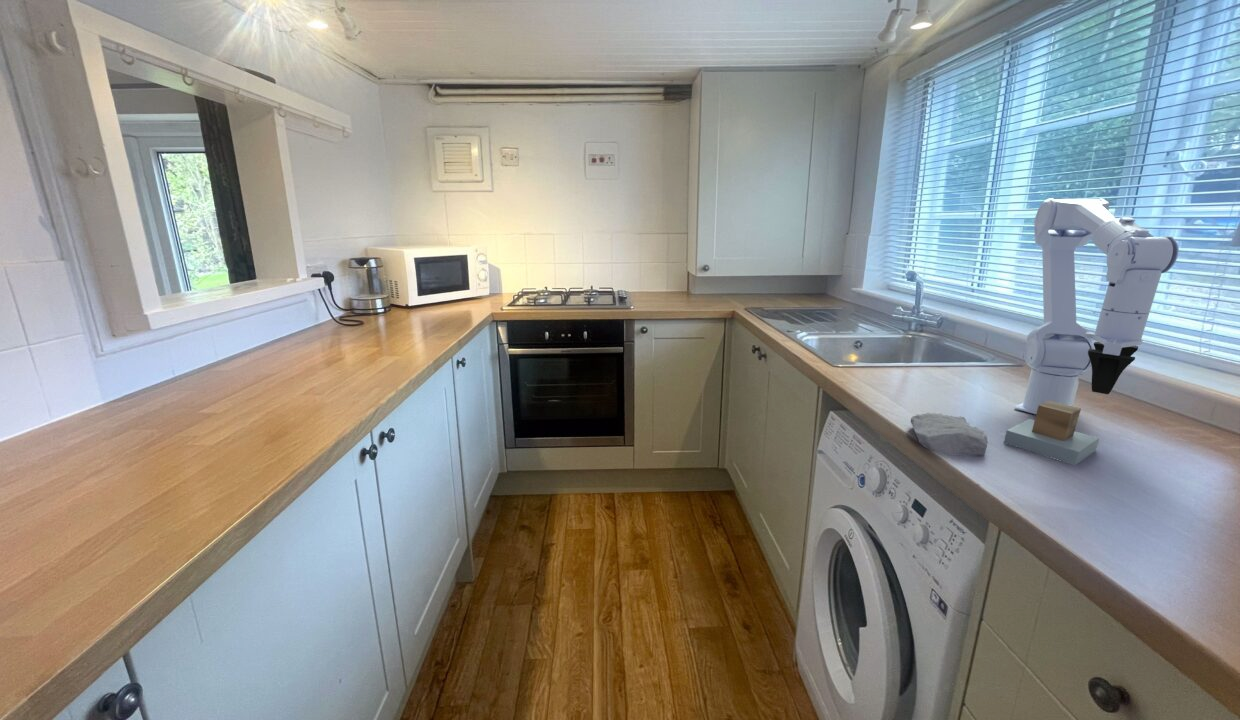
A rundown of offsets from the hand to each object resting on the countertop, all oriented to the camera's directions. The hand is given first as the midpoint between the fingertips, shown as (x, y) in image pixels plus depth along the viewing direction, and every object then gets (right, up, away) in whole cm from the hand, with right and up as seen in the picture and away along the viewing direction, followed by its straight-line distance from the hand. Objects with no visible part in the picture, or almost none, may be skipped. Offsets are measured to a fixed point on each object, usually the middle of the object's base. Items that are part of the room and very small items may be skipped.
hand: (1102, 387), depth 87 cm
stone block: (-26, -10, +3) cm, 28 cm away
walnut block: (-8, -8, +1) cm, 12 cm away
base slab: (-8, -11, +1) cm, 14 cm away
